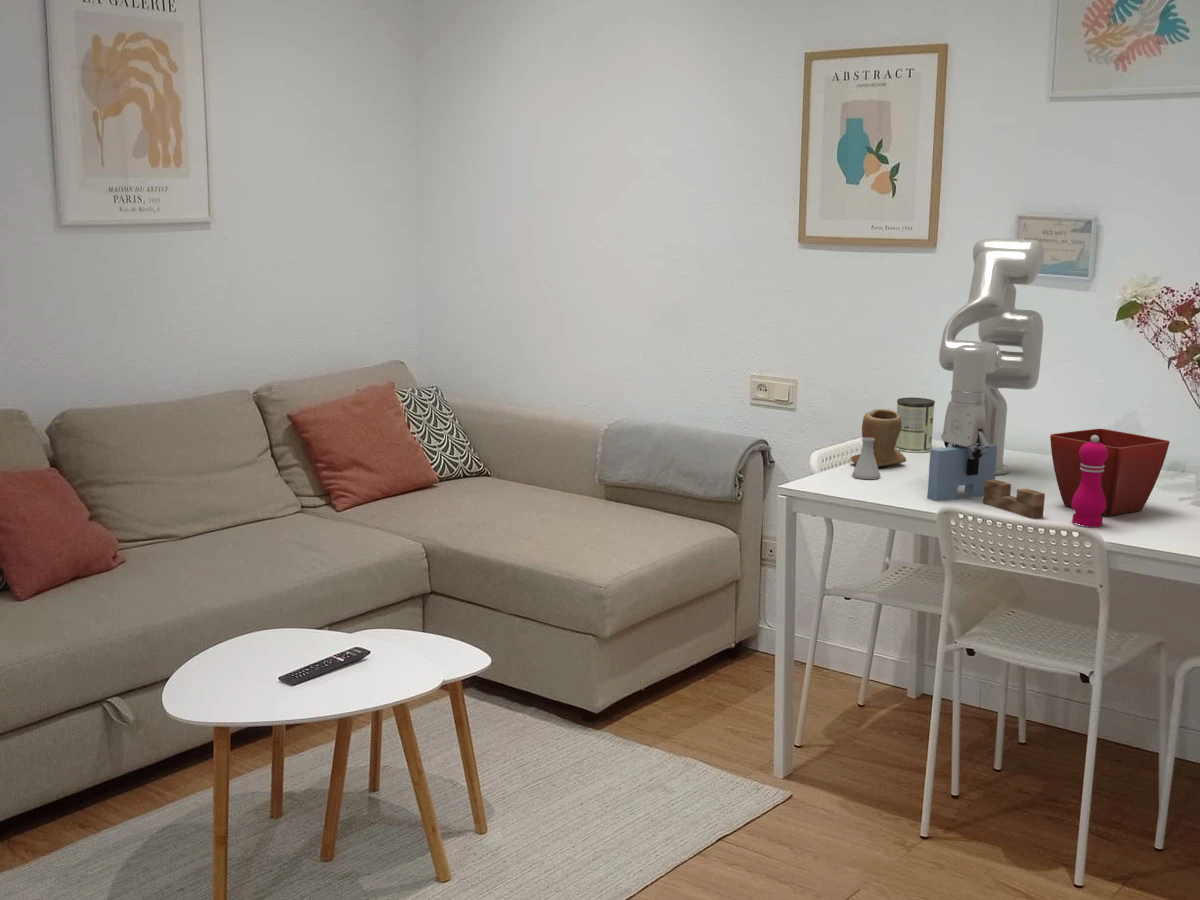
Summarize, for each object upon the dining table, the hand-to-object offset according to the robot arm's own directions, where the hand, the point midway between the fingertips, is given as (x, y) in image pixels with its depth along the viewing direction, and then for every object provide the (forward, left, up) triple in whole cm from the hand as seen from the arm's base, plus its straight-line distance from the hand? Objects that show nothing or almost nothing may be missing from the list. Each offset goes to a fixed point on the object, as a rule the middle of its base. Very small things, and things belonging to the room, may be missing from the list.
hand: (962, 471), depth 313 cm
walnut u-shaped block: (+10, +12, -6) cm, 17 cm away
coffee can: (-55, -16, -6) cm, 58 cm away
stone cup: (-29, -22, -6) cm, 37 cm away
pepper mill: (+17, +28, -6) cm, 33 cm away
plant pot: (0, +32, -6) cm, 33 cm away
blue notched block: (0, 0, -6) cm, 6 cm away
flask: (-13, -24, -6) cm, 28 cm away
